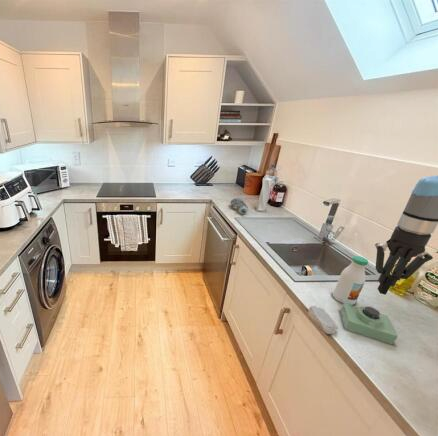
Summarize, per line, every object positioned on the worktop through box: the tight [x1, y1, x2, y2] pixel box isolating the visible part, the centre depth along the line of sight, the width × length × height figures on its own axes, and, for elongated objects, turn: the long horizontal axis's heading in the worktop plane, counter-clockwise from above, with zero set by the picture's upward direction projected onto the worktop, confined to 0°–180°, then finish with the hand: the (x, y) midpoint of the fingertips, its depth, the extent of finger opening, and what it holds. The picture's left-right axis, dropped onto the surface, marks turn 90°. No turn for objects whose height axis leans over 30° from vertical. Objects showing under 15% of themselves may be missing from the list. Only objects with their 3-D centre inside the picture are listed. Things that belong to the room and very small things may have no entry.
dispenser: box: [339, 303, 399, 345], centre depth 85 cm, size 13×10×6 cm
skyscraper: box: [255, 174, 274, 213], centre depth 188 cm, size 8×8×28 cm
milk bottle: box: [332, 255, 369, 306], centre depth 95 cm, size 8×8×20 cm
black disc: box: [363, 306, 381, 319], centre depth 84 cm, size 4×4×2 cm
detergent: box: [230, 197, 249, 215], centre depth 191 cm, size 13×7×25 cm
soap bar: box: [307, 305, 339, 335], centre depth 87 cm, size 10×6×6 cm, turn 174°
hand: (381, 291), depth 80 cm, fingers closed
